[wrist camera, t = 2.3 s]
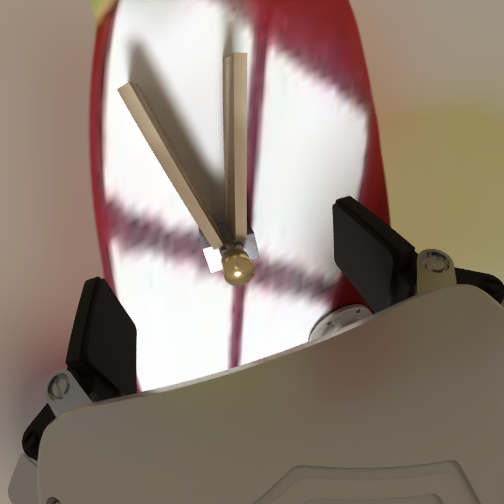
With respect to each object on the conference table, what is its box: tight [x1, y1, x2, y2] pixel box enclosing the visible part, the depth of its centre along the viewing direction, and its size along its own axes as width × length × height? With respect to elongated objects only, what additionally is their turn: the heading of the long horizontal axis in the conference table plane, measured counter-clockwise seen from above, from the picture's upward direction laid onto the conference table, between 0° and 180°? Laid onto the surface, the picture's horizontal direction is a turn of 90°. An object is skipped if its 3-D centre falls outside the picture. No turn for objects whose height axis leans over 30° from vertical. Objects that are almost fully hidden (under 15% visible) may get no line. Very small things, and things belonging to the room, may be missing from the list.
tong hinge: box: [199, 221, 259, 273], centre depth 30 cm, size 5×3×4 cm, turn 101°
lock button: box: [221, 249, 255, 286], centre depth 27 cm, size 3×3×2 cm
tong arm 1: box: [223, 53, 247, 241], centre depth 24 cm, size 1×16×5 cm, turn 179°
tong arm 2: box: [117, 82, 223, 250], centre depth 23 cm, size 1×16×5 cm, turn 23°
